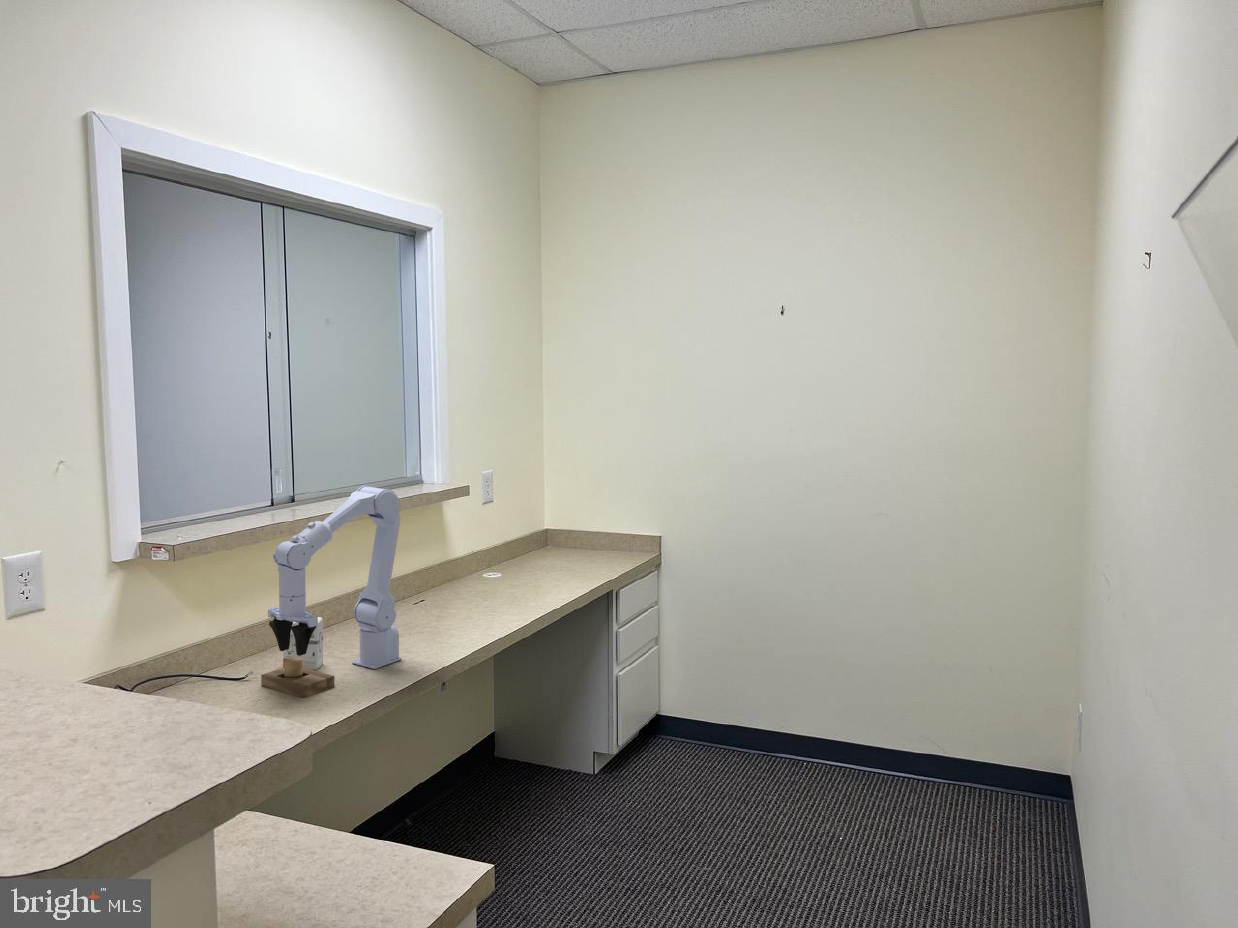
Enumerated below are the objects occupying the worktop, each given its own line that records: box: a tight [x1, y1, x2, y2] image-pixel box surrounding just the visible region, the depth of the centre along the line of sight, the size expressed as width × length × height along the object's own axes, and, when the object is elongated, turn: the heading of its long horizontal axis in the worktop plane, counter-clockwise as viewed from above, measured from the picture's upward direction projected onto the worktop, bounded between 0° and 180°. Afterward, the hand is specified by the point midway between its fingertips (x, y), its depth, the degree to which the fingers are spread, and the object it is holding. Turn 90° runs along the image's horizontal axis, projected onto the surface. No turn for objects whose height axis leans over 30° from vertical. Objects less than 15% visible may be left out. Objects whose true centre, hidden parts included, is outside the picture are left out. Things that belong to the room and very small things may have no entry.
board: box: [260, 667, 336, 698], centre depth 212 cm, size 9×14×2 cm, turn 59°
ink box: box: [282, 616, 324, 671], centre depth 225 cm, size 9×5×12 cm, turn 91°
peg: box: [284, 658, 303, 680], centre depth 212 cm, size 4×4×6 cm
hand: (292, 652), depth 211 cm, fingers open, 5 cm apart
